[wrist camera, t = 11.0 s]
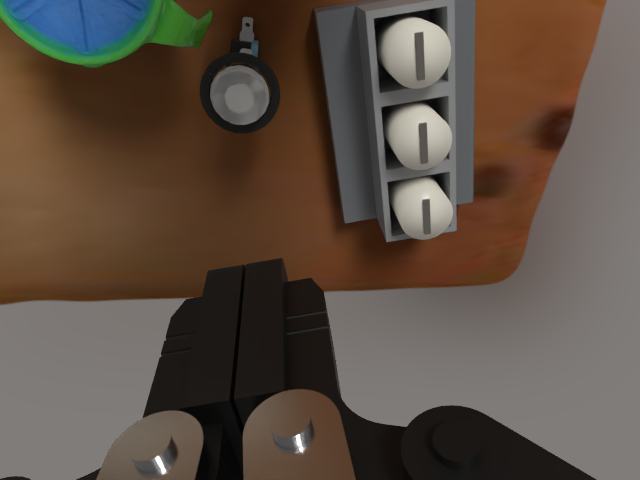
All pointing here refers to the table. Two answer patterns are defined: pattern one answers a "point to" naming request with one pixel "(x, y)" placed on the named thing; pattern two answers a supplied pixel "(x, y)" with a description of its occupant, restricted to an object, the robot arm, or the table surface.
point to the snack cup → (101, 27)
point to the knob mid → (416, 134)
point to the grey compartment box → (383, 90)
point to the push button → (240, 87)
